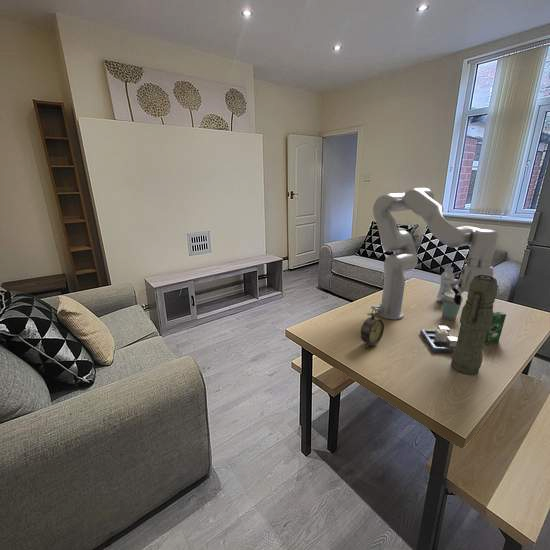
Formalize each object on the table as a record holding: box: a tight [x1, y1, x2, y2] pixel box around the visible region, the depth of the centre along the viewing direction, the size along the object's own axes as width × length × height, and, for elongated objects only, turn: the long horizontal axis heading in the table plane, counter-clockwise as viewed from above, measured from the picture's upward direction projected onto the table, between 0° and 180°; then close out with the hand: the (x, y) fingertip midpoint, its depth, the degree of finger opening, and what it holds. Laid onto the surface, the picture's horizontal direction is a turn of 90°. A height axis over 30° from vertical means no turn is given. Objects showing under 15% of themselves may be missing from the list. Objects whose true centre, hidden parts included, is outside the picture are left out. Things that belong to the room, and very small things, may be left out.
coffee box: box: [484, 311, 507, 345], centre depth 120 cm, size 8×3×13 cm, turn 106°
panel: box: [419, 324, 458, 355], centre depth 120 cm, size 11×15×5 cm
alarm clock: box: [360, 309, 385, 350], centre depth 119 cm, size 11×5×16 cm, turn 129°
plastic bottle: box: [436, 266, 455, 303], centre depth 159 cm, size 6×7×20 cm
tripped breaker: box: [434, 328, 450, 342], centre depth 120 cm, size 4×3×5 cm
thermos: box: [450, 275, 499, 377], centre depth 100 cm, size 9×12×35 cm
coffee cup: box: [441, 291, 464, 321], centre depth 142 cm, size 9×9×12 cm
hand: (469, 304), depth 115 cm, fingers open, 9 cm apart
